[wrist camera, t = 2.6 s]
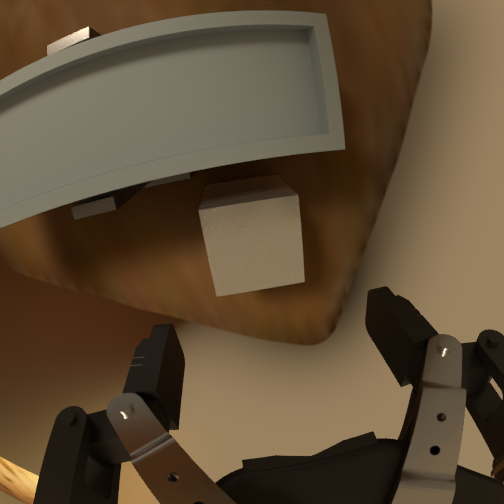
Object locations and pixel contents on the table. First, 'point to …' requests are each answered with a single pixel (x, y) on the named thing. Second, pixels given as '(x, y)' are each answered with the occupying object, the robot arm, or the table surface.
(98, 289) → the table surface
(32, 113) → the beam
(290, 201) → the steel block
